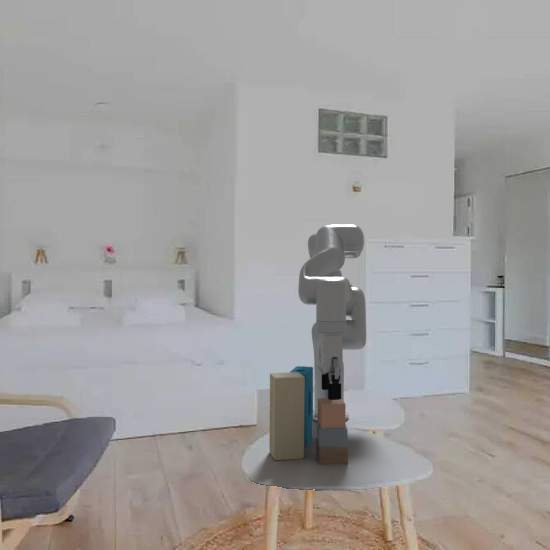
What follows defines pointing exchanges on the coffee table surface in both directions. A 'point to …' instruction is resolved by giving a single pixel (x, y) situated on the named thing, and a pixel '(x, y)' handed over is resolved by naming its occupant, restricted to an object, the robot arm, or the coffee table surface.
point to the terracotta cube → (331, 413)
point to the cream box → (287, 415)
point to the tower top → (332, 436)
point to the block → (307, 401)
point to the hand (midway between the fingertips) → (331, 394)
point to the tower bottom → (331, 455)
